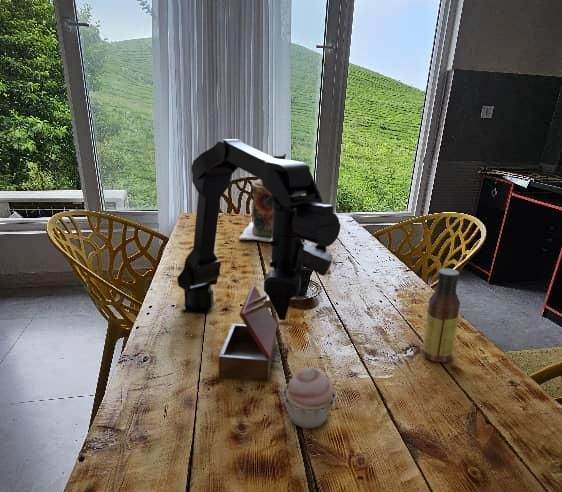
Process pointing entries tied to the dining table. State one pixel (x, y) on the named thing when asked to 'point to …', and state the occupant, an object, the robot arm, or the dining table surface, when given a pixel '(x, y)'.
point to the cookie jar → (260, 213)
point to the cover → (259, 320)
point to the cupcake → (309, 398)
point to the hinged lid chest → (243, 356)
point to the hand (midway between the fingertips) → (284, 309)
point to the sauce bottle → (442, 318)
